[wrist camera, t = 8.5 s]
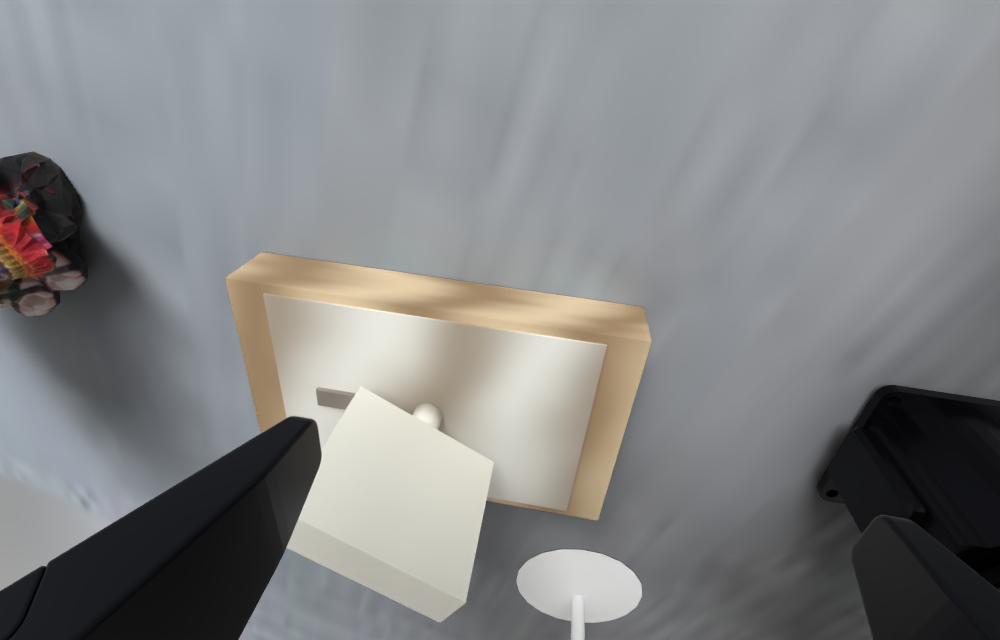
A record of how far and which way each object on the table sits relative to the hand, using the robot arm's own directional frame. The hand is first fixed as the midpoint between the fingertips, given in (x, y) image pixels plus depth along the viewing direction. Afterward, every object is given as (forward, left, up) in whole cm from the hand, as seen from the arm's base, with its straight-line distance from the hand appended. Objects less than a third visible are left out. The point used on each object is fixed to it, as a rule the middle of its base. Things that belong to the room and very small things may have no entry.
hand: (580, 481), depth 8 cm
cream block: (+6, +10, -9) cm, 15 cm away
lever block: (+5, +8, -12) cm, 15 cm away
